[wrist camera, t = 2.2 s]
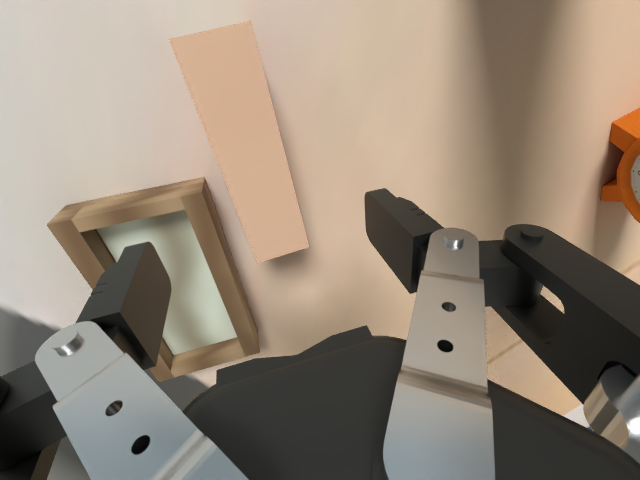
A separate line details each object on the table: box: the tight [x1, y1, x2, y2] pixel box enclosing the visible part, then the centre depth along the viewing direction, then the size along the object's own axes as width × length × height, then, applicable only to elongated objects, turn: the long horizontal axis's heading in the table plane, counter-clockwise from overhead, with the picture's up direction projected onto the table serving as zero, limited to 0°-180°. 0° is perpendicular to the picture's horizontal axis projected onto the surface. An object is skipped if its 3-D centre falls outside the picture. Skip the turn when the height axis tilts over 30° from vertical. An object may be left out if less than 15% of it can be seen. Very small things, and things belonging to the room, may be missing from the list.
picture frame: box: [47, 177, 260, 382], centre depth 27 cm, size 10×18×3 cm, turn 8°
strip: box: [169, 21, 309, 263], centre depth 21 cm, size 4×14×6 cm, turn 12°
